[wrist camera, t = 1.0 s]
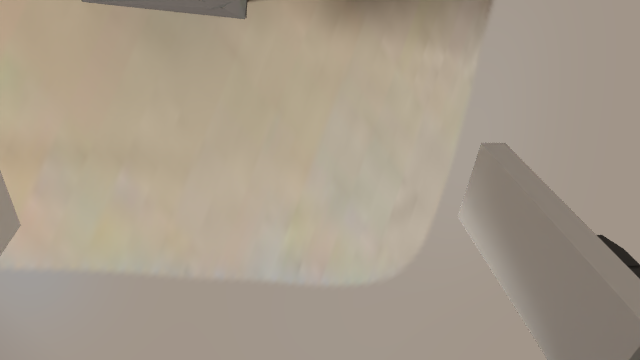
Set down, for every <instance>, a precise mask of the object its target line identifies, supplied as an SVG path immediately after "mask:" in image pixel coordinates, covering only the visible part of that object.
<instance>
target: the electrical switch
mask: <svg viewBox="0 0 640 360" xmlns="http://www.w3.org/2000/svg"><path fill="white" fill-rule="evenodd" d="M82 1H83V2H89V3H98V4H108V5H117V6H127V7H136V8H145V9H155V10H164V11H174V12H183V13H192V14H202V15H211V16H221V17H230V18H239V19H245V18H246V13H247V2H248V0H82ZM223 7H224V8H223Z"/></svg>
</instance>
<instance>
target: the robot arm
mask: <svg viewBox="0 0 640 360" xmlns="http://www.w3.org/2000/svg"><path fill="white" fill-rule="evenodd" d="M458 218H459V220H460V221H461V223H462V224H463V226H464V228H465V229H466V230H467V232H468V234H469V236H470V237H471V239H472V240H473V242H474V244H475V245H476V247H477V248H478V250H479V251H480V253H481V255H482V256H483V258H484V259H485V261H486V263H487V264H488V266H489V267H490V269H491V271H492V272H493V274H494V275H495V277H496V279H497V280H498V282H499V283H500V285H501V287H502V288H503V290H504V291H505V293H506V294H507V296H508V298H509V299H510V301H511V303H512V304H513V306H514V307H515V309H516V310H517V312H518V314H519V315H520V317H521V318H522V320H523V322H524V323H525V325H526V326H527V328H528V330H529V331H530V333H531V334H532V336H533V338H534V339H535V341H536V342H537V344H538V346H539V347H540V349H541V350H542V352H543V353H544V355H545V357H546V358H547V360H640V265H639V263H637V261H635V260H634V259H633V258H632V257H631V256H630V255H629V254H628V253H627V252H626V251H625V250H624V249H623V248H621V247H620V246H618V245H617V244H615V243H614V242H612V241H610V240H609V239H607V238H606V237H604V236H603V235H595V233H594V232H593V231H592V230H591V229H590V228H589V227H588V226H587V225H586V224H585V223H584V222H583V221H582V220H581V219H580V218H579V217H578V216H577V215H576V214H575V213H574V212H573V211H572V210H571V209H570V208H569V207H568V206H567V205H566V204H565V203H564V202H563V201H562V200H561V199H560V198H559V197H558V196H557V195H556V194H555V193H554V192H553V191H552V190H551V189H550V188H549V187H548V186H547V185H546V184H545V183H544V182H543V181H542V180H541V179H540V178H539V177H538V176H537V175H536V174H535V173H534V172H533V171H532V170H531V169H530V168H529V167H528V166H527V165H526V164H525V163H524V162H523V161H522V159H520V158H519V157H518V156H517V154H515V152H514V151H513V150H512V149H510V147H509V146H508V145H507V144H506V143H481V145H480V148H479V152H478V155H477V158H476V161H475V164H474V167H473V170H472V174H471V177H470V180H469V183H468V186H467V189H466V193H465V196H464V198H463V202H462V204H461V207H460V211H459V214H458ZM19 227H20V222H19V220H18V217H17V214H16V212H15V209H14V206H13V204H12V201H11V198H10V195H9V193H8V190H7V187H6V185H5V182H4V179H3V177H2V174H1V171H0V255H1V254H2V252H3V251H4V249H5V248H6V246H7V245H8V243H9V242H10V240H11V239H12V237H13V236H14V234H15V233H16V231H17V230H18V228H19Z"/></svg>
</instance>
